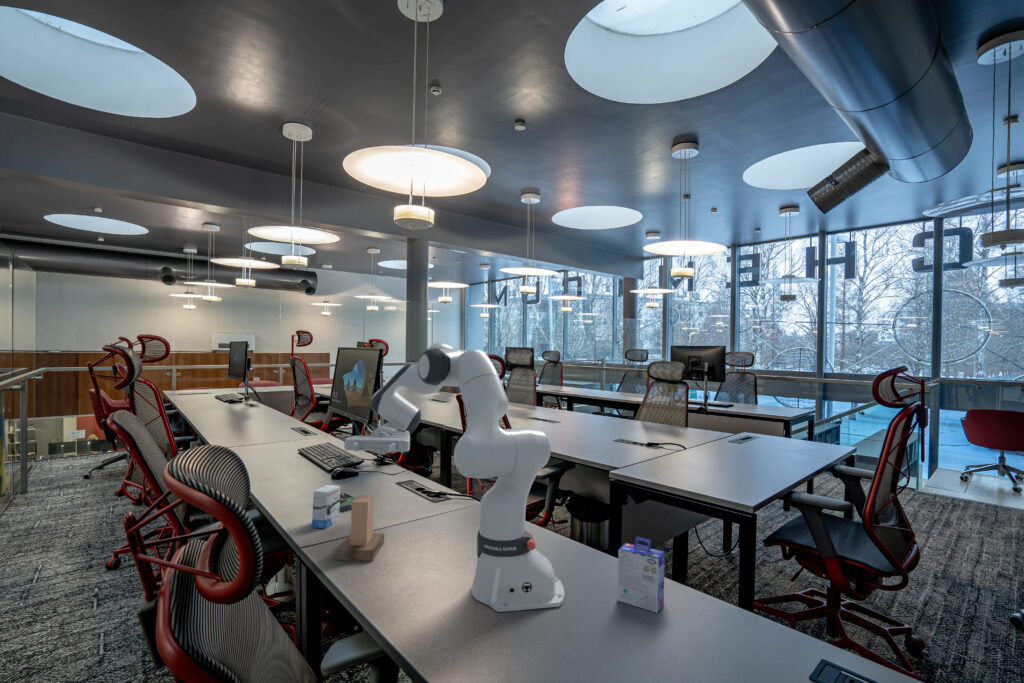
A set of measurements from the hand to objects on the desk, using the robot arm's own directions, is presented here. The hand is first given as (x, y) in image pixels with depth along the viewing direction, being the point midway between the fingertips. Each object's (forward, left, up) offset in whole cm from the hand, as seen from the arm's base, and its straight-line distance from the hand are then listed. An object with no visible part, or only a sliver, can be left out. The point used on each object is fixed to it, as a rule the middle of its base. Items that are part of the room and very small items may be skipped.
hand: (371, 448), depth 142 cm
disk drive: (+20, -33, -29) cm, 48 cm away
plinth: (0, +7, -28) cm, 29 cm away
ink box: (+18, -14, -28) cm, 36 cm away
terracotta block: (0, +7, -25) cm, 26 cm away
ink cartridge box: (-73, +32, -28) cm, 85 cm away
